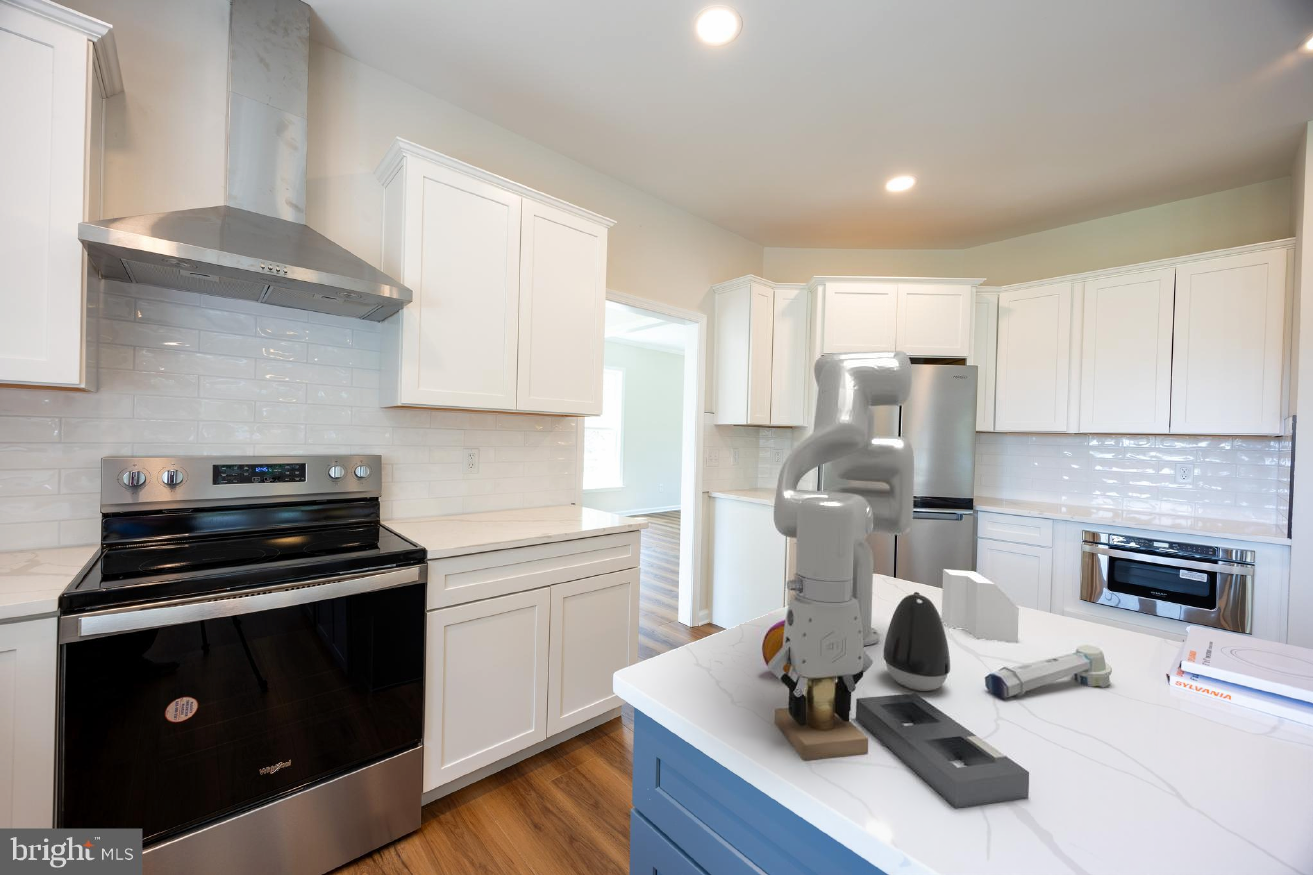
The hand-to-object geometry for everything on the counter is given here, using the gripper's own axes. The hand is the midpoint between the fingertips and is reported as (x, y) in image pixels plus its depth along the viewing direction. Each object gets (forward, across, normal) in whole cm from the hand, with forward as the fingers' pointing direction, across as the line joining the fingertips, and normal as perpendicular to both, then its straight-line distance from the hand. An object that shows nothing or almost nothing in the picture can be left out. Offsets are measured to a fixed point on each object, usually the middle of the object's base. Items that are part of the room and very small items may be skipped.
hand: (819, 717), depth 72 cm
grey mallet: (+3, +48, +7) cm, 48 cm away
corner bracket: (+3, +57, +32) cm, 65 cm away
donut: (+3, +5, +18) cm, 19 cm away
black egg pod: (+3, +25, +12) cm, 28 cm away
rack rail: (+3, +13, -6) cm, 15 cm away
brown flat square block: (+3, 0, 0) cm, 3 cm away
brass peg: (+1, 0, 0) cm, 1 cm away
